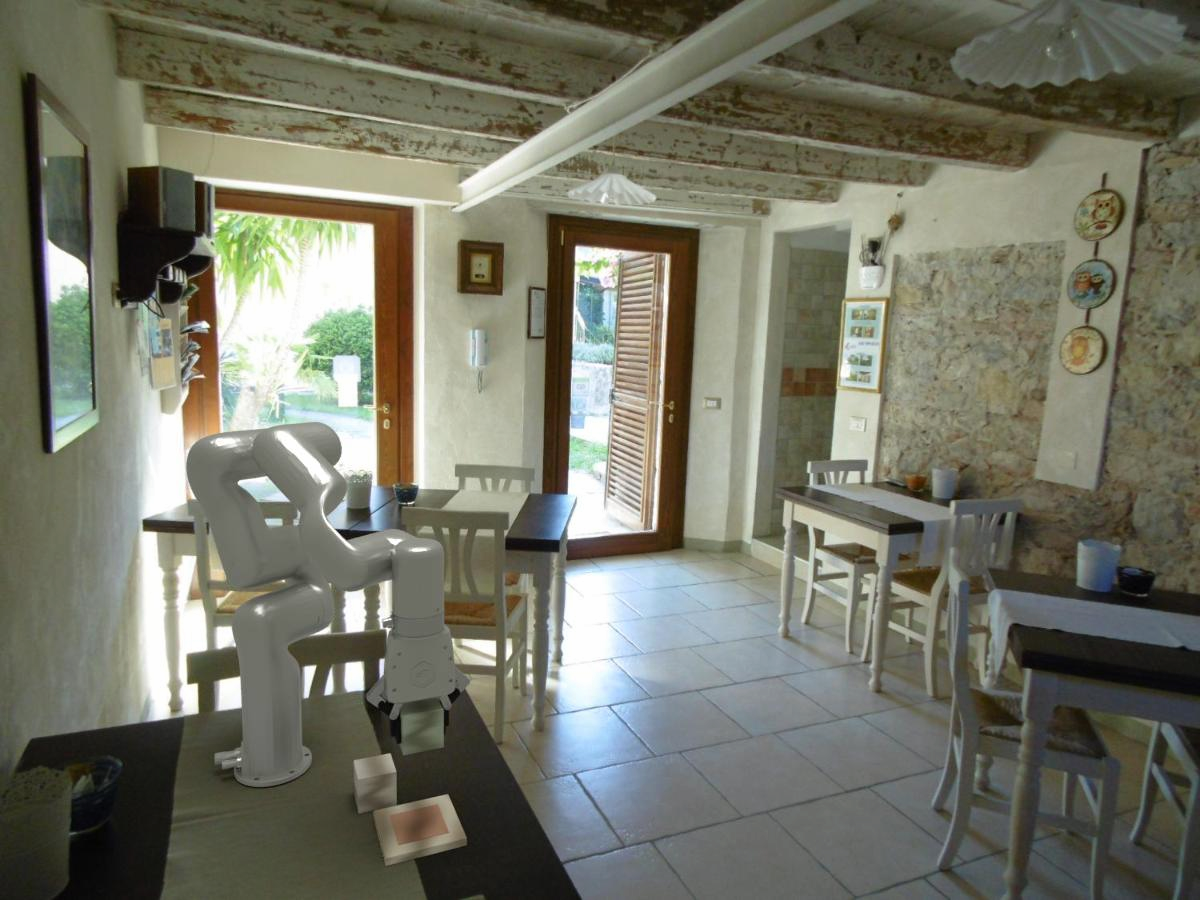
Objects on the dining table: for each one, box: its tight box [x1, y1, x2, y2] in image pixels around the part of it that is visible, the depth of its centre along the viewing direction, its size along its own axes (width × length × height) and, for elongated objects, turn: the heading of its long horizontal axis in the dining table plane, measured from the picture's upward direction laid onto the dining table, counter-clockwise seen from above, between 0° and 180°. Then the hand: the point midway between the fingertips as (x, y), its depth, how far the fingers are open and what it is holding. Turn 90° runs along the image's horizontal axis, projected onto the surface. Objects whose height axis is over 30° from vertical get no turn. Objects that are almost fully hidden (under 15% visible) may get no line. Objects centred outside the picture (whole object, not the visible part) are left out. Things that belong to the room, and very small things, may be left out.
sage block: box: [398, 698, 445, 756], centre depth 114 cm, size 6×6×6 cm
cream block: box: [353, 753, 398, 815], centre depth 124 cm, size 6×6×6 cm
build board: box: [372, 793, 468, 867], centre depth 116 cm, size 12×12×1 cm
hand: (419, 734), depth 114 cm, fingers closed on sage block, 6 cm apart
